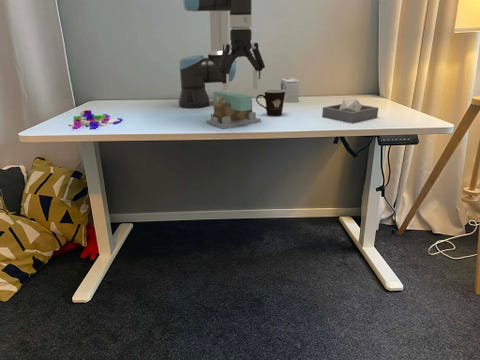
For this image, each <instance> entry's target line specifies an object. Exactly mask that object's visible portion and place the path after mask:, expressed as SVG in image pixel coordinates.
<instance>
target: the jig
mask: <svg viewBox="0 0 480 360" xmlns="http://www.w3.org/2000/svg"><path fill="white" fill-rule="evenodd" d="M256 115H257V113H256V111H252V112H251V113H247V118H248V119H243V120H237V121H231V117H229V116H227V117H222V123H219V121H218V118H216V117H214V113H210V119H206V122H205V124H208V125H209V126H213V127H216V128H219V129H221V128H222V130H225V129H229V127H231V128H234V126H236V127H240V125H241V126H246V124H247V125H251V124H256V123H261V121H262V119H261V118H259V117H257V116H256ZM224 128H225V129H224Z"/></svg>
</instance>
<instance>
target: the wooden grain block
mask: <svg viewBox="0 0 480 360" xmlns="http://www.w3.org/2000/svg"><path fill="white" fill-rule="evenodd" d="M251 112H253V108H252V109H251V110H246V111H238V110H234V109H230V108H229V104H228V103H225V97H217V103H214V102H213V114H214V117H216V118H218V121H219V123H222V117H227V116H229V117H231V121H237V120H243V119H248V118H247V113H251Z"/></svg>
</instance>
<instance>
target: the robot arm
mask: <svg viewBox="0 0 480 360" xmlns="http://www.w3.org/2000/svg"><path fill="white" fill-rule="evenodd" d="M182 1H183V8H184V10H185V11H187V12H209V32H210V33H209V34H210V50H209V52H208V53H207V57H205V55H203V54H196V55H190V56H185V57H182V58H180V59H179V73H180V74H179V75H180V88H181V90H180V95H179V99H178V107H180V108H184V109H198V108H205V107H209V106H210V105H211V103H210V98H209V95H208V92H207V90H206V84H211V83H221V84H222V87H223V88H222V89H223V90H222V91H223V92H225V93H229V92H230V82H232V81H233V80H234V79H235V76H236V70H237V60H236V59H238V58H242V57H245V58H247V60H248V62H249V63H250V64H251V66H252V67H253V69H254V70H252V89H257V90H259V89H260V80H261V72H262V71H263V69H265V68H266V66H265V62H264V60H263V58H262V54H261V53H260V49H259V43H258V42H251V40H252V29H251V27H252V0H182ZM229 28H231V29H230V30H229ZM229 35H230V36H229ZM229 40H230V43H229ZM251 51H252V52H251Z"/></svg>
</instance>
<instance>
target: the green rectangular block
mask: <svg viewBox="0 0 480 360" xmlns="http://www.w3.org/2000/svg"><path fill="white" fill-rule="evenodd" d="M212 96H213V98H212V99H213V104H214V103H217V97H225V103H228V104H229V108H230V109H234V110H238V111H246V110H251V109H252V110H253V100H252V95H248V94H243V93H237V92H233V91H229V93H225V92H223V90H221V91H214V92H213V95H212Z"/></svg>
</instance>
